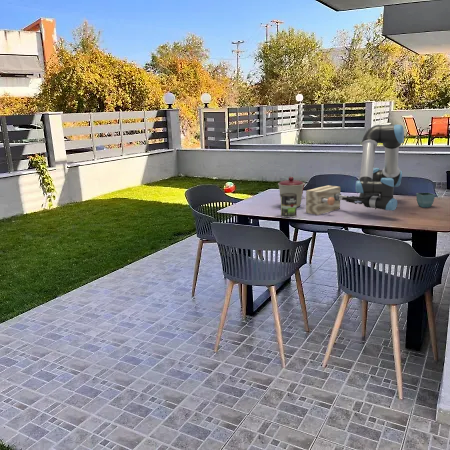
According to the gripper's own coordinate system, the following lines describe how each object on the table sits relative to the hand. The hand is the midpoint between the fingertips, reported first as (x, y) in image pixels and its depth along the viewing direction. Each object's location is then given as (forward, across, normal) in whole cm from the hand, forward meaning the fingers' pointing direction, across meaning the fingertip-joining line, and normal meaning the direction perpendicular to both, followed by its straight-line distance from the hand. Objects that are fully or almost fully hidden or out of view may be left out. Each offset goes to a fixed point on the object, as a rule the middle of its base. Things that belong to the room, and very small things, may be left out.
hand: (339, 197), depth 300 cm
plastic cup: (+48, +16, -9) cm, 51 cm away
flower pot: (-37, +44, -9) cm, 59 cm away
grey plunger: (+6, 0, -2) cm, 7 cm away
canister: (+33, -10, -9) cm, 36 cm away
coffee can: (+16, -32, -9) cm, 37 cm away
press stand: (+8, -7, -9) cm, 14 cm away
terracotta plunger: (+2, -14, -3) cm, 14 cm away
